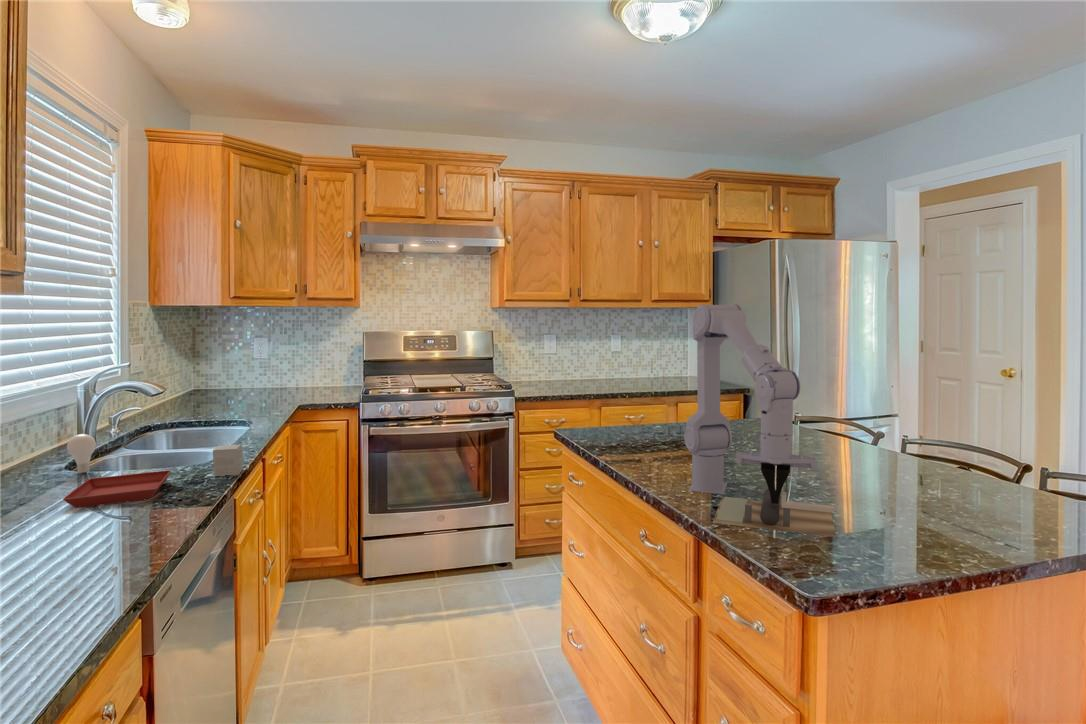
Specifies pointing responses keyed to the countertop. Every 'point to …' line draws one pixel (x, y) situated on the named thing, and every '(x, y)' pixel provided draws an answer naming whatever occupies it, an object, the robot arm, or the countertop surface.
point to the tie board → (789, 519)
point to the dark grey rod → (769, 510)
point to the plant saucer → (117, 489)
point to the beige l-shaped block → (806, 505)
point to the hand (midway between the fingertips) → (774, 502)
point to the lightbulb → (81, 450)
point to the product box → (227, 460)
